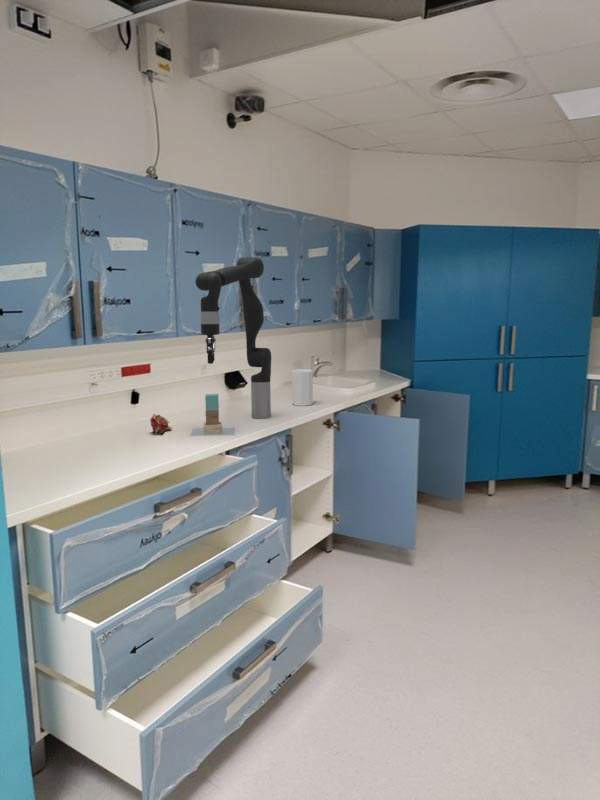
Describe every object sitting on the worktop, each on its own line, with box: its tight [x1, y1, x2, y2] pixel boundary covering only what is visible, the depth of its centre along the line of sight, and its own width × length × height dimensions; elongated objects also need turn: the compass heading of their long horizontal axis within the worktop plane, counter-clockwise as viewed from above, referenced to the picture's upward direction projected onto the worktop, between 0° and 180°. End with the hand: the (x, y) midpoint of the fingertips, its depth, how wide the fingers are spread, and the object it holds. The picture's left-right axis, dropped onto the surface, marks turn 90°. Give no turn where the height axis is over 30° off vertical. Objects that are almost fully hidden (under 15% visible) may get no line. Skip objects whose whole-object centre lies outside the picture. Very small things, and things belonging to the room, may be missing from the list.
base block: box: [203, 421, 223, 436], centre depth 240 cm, size 7×7×4 cm
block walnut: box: [205, 409, 220, 425], centre depth 239 cm, size 5×5×6 cm
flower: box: [149, 413, 173, 435], centre depth 245 cm, size 10×9×8 cm
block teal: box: [204, 393, 220, 412], centre depth 238 cm, size 5×5×6 cm
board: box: [189, 426, 236, 437], centre depth 242 cm, size 14×18×1 cm
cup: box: [291, 368, 314, 407], centre depth 310 cm, size 11×11×18 cm
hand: (211, 362), depth 238 cm, fingers open, 8 cm apart
